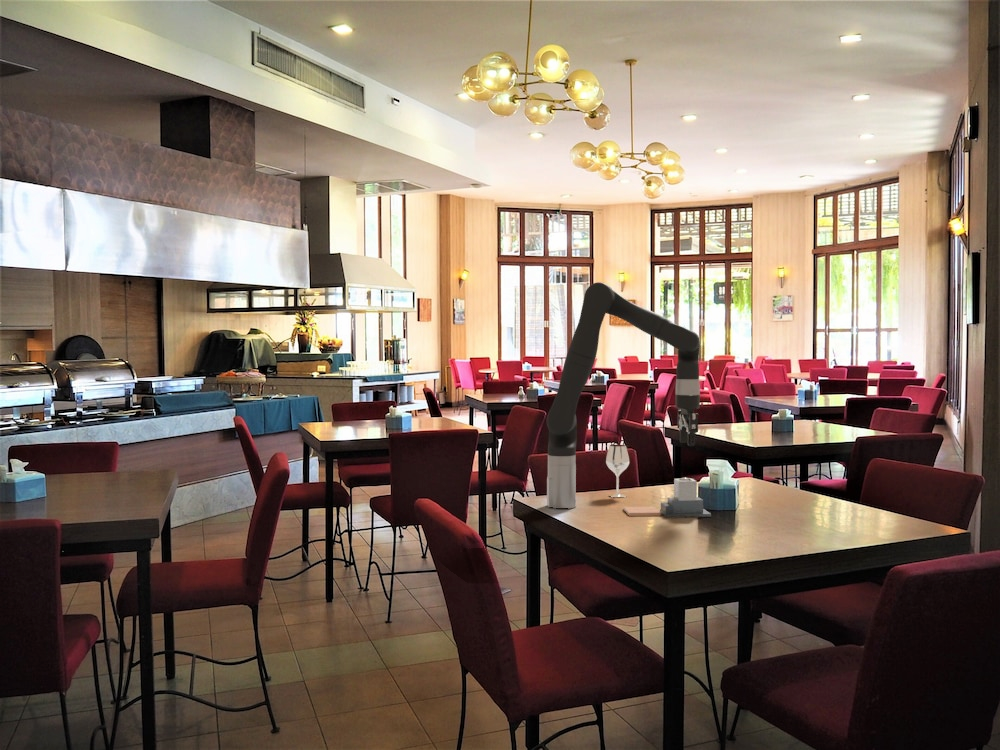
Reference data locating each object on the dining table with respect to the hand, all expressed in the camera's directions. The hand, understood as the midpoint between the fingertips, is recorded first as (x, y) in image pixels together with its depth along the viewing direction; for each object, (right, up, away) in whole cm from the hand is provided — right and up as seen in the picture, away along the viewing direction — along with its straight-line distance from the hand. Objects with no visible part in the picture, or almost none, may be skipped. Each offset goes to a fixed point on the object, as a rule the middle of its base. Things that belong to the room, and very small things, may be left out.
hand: (687, 444), depth 270 cm
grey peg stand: (-1, -22, -3) cm, 22 cm away
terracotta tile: (-15, -22, 0) cm, 26 cm away
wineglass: (-18, -21, +30) cm, 41 cm away
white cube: (-1, -17, -3) cm, 17 cm away
